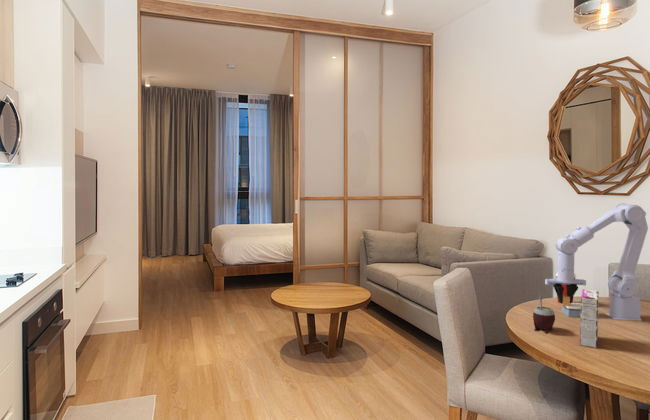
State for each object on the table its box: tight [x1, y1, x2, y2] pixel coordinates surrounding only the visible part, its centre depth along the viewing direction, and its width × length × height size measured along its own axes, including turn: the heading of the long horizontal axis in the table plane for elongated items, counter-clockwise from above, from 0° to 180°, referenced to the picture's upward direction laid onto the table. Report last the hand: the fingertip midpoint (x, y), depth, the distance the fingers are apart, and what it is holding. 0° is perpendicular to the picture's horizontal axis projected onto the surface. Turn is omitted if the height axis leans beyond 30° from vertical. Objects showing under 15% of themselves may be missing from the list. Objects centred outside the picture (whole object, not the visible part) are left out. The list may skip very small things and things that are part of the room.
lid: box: [559, 295, 581, 309], centre depth 172 cm, size 10×7×5 cm
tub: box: [561, 305, 581, 318], centre depth 173 cm, size 8×6×3 cm
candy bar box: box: [579, 288, 600, 349], centre depth 145 cm, size 11×5×16 cm, turn 148°
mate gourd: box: [532, 292, 556, 335], centre depth 156 cm, size 8×8×15 cm
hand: (564, 302), depth 173 cm, fingers closed on lid, 3 cm apart
